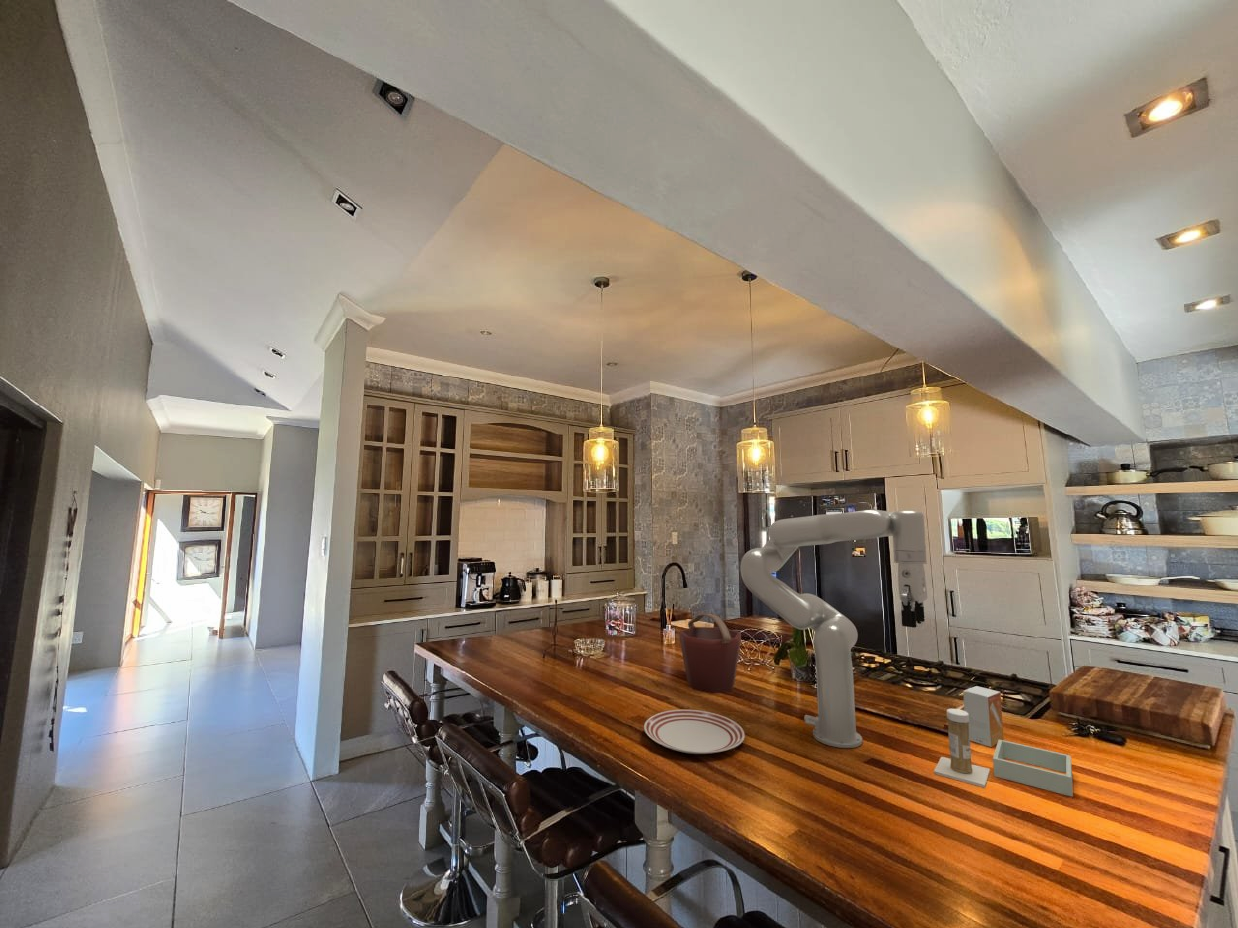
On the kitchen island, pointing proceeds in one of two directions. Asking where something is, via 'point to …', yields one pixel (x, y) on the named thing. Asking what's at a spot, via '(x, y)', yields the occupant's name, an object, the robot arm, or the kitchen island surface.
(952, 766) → the sprinkles bottle
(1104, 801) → the kitchen island surface
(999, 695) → the small box
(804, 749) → the kitchen island surface
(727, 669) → the bucket
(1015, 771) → the tray
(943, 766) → the tile
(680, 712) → the dinner plate
